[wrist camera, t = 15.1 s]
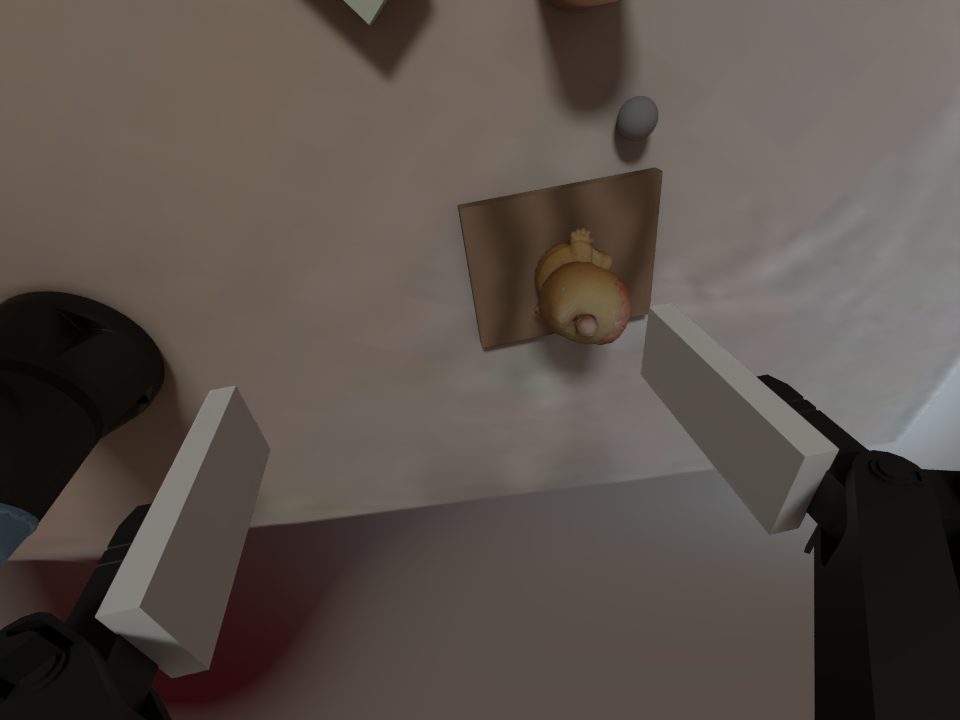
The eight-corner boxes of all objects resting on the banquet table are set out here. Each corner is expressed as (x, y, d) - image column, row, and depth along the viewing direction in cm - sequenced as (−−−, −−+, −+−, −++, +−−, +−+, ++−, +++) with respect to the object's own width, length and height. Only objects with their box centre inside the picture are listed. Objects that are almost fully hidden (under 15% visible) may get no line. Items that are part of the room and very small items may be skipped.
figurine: (581, 318, 51) (602, 391, 39) (519, 297, 51) (521, 364, 38) (622, 236, 46) (663, 289, 34) (555, 211, 46) (570, 255, 33)
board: (480, 341, 53) (482, 348, 52) (457, 205, 44) (459, 209, 42) (643, 307, 54) (649, 313, 53) (655, 167, 45) (662, 170, 43)
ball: (610, 140, 42) (625, 147, 40) (611, 98, 40) (627, 102, 38) (645, 133, 43) (663, 139, 40) (648, 91, 41) (667, 94, 38)
